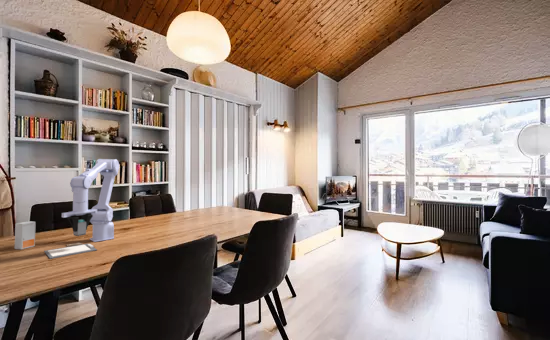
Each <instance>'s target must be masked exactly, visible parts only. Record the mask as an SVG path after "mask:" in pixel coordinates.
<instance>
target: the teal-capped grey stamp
mask: <svg viewBox="0 0 550 340" xmlns="http://www.w3.org/2000/svg"><path fill="white" fill-rule="evenodd" d="M72 231H73V230H72ZM72 234H73V236H75V237H81V236H85V235H87V230H86V221H84V220H83V219H82V218H81V219H79V220H78V230H77V232H74V231H73V233H72Z"/></svg>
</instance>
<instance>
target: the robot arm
mask: <svg viewBox="0 0 550 340" xmlns="http://www.w3.org/2000/svg"><path fill="white" fill-rule="evenodd" d="M119 169H120V162H119V160H118V159H117V158H115V159H114V158H113V159H111V158H98V159H97V160H96V161H95V165H94V166H93V167H91V168H86V169H85V170H84V171H83V172H82V173H80V174H79V175H77V176H74V177H72V178H71V180H70V182H69V185H70V186H69V187H71V193H72V210H71V211H68V212H61V218H63V219H64V218H67V220H68V222H69V223H70V225H71V228H72V231H74V232H77V230H78V220H80V217H79V216H81V219H83V220H84V221H86V231H87V230H88V227H89V225H90V223H91V224H92V237H90V238H89V240H90V241H92V242H94V243H96V242H101V241H108V240H114V239H115V226H114V222H113V221H112V220H113V217H114V214H113V213H114V209H113V208H112V207H111V206H110V200H111V197H112V191H113V186H114V182H115V179H116V178H115V177H116V176H117V175H118V174H119ZM98 174H100V176H103V181H102V183H101V184H102V185H101V188H100V193H99V197H98V202H97V204H96V205H94V206H92V208H91V209H89V188H91V186H92V183H93V181H94V180H95V179H96V178H97V177H98Z"/></svg>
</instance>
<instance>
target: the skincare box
mask: <svg viewBox="0 0 550 340" xmlns="http://www.w3.org/2000/svg"><path fill="white" fill-rule="evenodd" d="M36 224H37V223H36V221H31V220H30V221H28V220H27V221H23V222H21V221H20V222H17V223H15V224H14V225H15V226H14V227H15V228H14V249H15V250H25V249H28V248H32V247H36V246H35V245H36Z"/></svg>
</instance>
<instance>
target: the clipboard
mask: <svg viewBox="0 0 550 340" xmlns="http://www.w3.org/2000/svg"><path fill="white" fill-rule="evenodd" d="M97 250H98V249H97V248H95V245H93V244H91V243H84V244H83V243H82V245H76V246H70V247H67V246H65V247H59V248H52V249H47V250H43V252H44V254H46V256H47V257H48V259H50V260H52V259H58V258H62V257H63V258H64V257H68V256H74V255H79V254H84V253H90V252H95V251H97Z"/></svg>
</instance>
